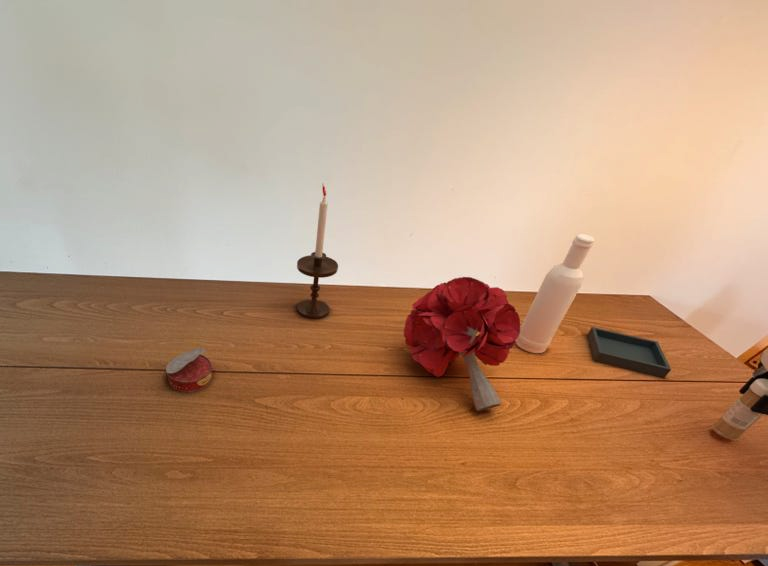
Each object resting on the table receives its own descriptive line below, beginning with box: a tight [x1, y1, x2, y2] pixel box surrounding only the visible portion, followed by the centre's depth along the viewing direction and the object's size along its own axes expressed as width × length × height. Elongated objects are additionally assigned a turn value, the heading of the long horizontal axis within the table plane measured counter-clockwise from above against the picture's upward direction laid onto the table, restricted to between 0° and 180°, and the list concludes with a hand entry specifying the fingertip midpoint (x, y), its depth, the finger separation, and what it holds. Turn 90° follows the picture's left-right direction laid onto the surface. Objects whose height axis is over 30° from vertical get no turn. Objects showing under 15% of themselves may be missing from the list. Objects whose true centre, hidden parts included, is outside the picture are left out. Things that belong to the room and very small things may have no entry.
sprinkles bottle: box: [712, 379, 768, 441], centre depth 84 cm, size 5×5×14 cm
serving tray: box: [586, 326, 672, 379], centre depth 109 cm, size 16×13×3 cm
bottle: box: [515, 233, 595, 354], centre depth 102 cm, size 8×8×30 cm
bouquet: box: [403, 276, 521, 412], centre depth 94 cm, size 22×24×30 cm
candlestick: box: [296, 184, 339, 320], centre depth 109 cm, size 11×11×35 cm
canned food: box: [165, 347, 213, 393], centre depth 94 cm, size 11×10×10 cm
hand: (754, 402), depth 83 cm, fingers closed on sprinkles bottle, 4 cm apart
